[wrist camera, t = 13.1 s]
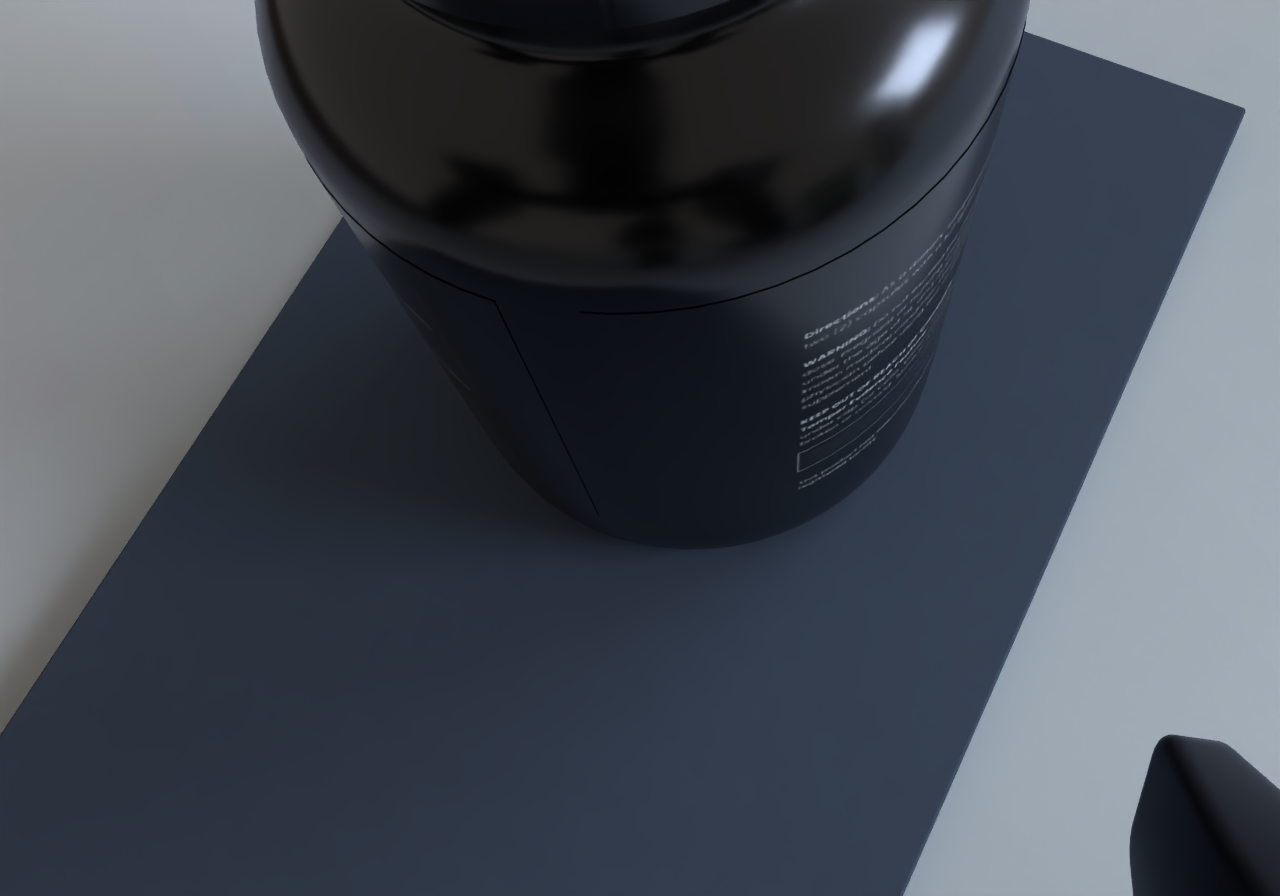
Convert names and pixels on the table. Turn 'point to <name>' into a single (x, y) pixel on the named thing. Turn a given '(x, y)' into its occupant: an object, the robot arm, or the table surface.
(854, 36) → the supplement bottle
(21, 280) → the table surface
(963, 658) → the rubber mat
